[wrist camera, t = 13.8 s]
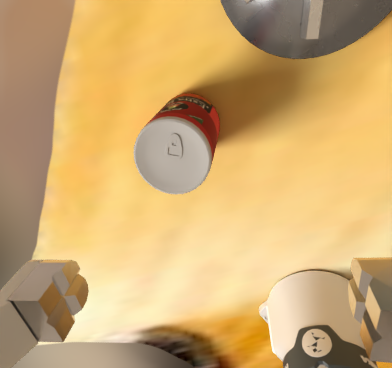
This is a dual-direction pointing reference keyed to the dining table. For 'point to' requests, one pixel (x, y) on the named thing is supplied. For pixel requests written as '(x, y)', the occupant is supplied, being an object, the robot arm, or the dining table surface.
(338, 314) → the robot arm
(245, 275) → the dining table surface
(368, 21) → the disc
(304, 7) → the finned rotor disc
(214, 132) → the canned food
